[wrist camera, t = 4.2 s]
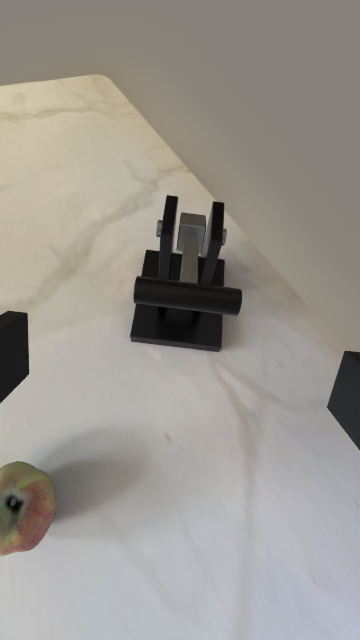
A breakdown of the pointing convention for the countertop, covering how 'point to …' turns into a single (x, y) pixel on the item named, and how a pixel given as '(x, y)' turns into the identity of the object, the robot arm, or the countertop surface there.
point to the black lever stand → (164, 264)
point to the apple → (24, 507)
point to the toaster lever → (188, 278)
